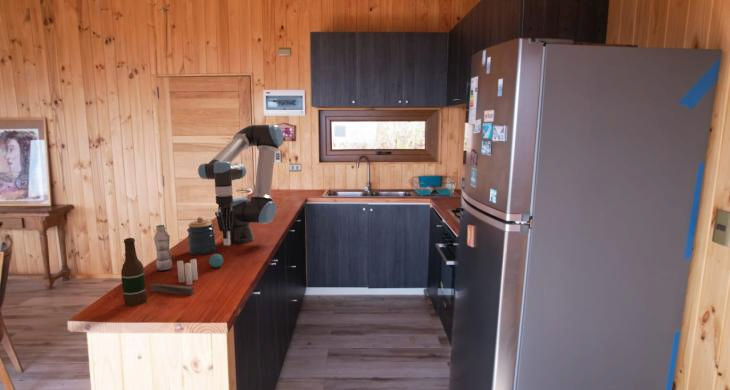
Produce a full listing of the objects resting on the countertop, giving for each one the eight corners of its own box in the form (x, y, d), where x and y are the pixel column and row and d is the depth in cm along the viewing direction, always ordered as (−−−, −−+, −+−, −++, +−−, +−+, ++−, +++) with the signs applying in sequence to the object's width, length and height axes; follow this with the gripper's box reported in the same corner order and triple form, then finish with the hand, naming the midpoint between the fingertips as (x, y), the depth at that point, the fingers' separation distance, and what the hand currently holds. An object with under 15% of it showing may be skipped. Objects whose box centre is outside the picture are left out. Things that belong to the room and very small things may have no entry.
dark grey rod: (154, 289, 174) (153, 283, 174) (194, 293, 170) (193, 286, 169) (150, 291, 172) (150, 285, 172) (191, 295, 168) (190, 288, 168)
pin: (188, 282, 181) (186, 262, 179) (193, 283, 180) (192, 263, 179) (184, 284, 179) (183, 264, 177) (190, 285, 178) (188, 265, 177)
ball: (214, 264, 203) (213, 251, 202) (226, 265, 202) (225, 252, 201) (206, 268, 198) (205, 255, 197) (218, 269, 196) (217, 256, 195)
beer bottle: (151, 297, 166) (145, 235, 162) (141, 306, 159) (134, 241, 155) (130, 298, 166) (123, 236, 162) (119, 306, 158) (112, 242, 154)
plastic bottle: (155, 272, 193) (151, 228, 190) (158, 267, 200) (154, 224, 196) (171, 271, 195) (167, 227, 192) (173, 266, 201) (169, 223, 198)
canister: (207, 255, 216) (204, 220, 213) (183, 254, 219) (180, 219, 216) (220, 248, 229) (218, 214, 226) (198, 247, 232) (195, 214, 229)
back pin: (181, 280, 184) (179, 260, 183) (186, 280, 183) (184, 260, 182) (177, 282, 182) (175, 262, 180) (182, 282, 181) (180, 262, 180)
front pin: (194, 278, 186) (192, 258, 184) (199, 278, 185) (197, 259, 184) (190, 280, 184) (188, 260, 182) (195, 280, 183) (193, 261, 182)
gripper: (224, 192, 211) (227, 240, 215) (208, 197, 199) (212, 248, 202) (238, 193, 209) (241, 241, 213) (223, 197, 197) (226, 248, 200)
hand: (227, 244), depth 207 cm, fingers closed
